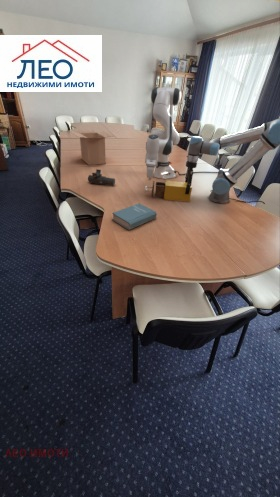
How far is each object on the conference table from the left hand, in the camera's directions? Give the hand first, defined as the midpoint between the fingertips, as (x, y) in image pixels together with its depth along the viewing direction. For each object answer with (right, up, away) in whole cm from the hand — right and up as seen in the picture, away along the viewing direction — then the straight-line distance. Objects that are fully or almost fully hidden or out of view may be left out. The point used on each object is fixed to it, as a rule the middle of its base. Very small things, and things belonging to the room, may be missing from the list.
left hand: (149, 179), depth 165 cm
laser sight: (-40, +3, +20) cm, 45 cm away
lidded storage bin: (+21, -12, +7) cm, 25 cm away
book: (-11, -33, -25) cm, 43 cm away
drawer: (+8, -10, +7) cm, 14 cm away
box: (-57, +42, +72) cm, 101 cm away
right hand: (+28, -8, +3) cm, 29 cm away
